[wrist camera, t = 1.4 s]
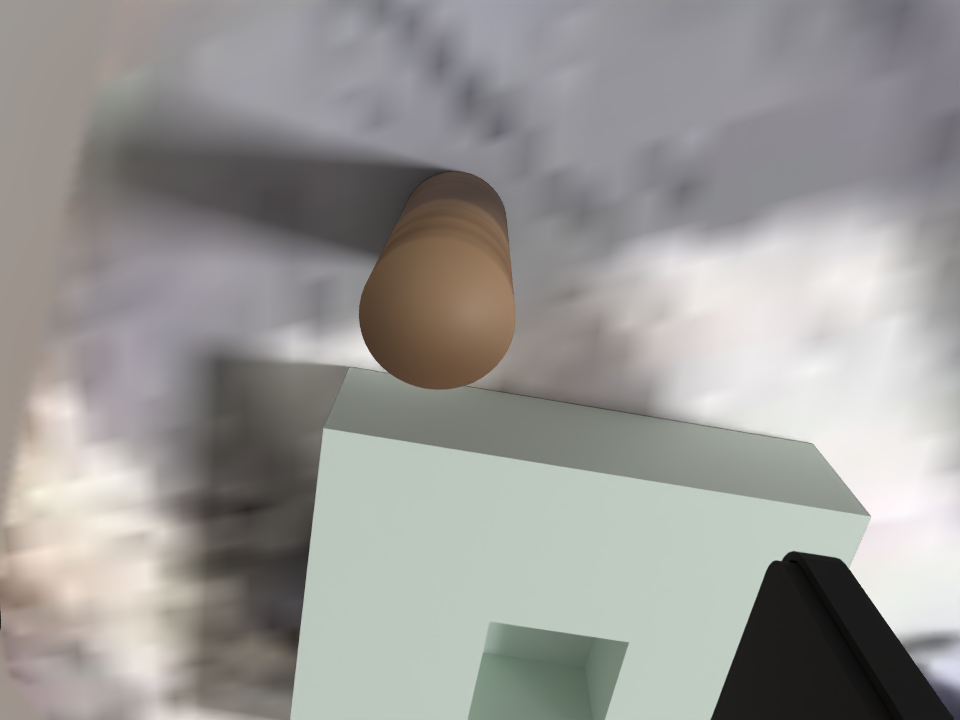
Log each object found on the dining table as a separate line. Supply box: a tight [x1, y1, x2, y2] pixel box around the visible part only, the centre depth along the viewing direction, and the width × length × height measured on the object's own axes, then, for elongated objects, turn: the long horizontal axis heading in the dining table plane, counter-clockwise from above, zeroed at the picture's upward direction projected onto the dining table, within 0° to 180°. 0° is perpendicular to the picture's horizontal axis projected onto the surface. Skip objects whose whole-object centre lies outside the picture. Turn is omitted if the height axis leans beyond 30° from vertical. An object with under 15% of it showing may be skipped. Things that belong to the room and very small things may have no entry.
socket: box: [290, 367, 871, 720], centre depth 31 cm, size 18×18×5 cm
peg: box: [359, 171, 515, 390], centre depth 23 cm, size 4×4×10 cm
